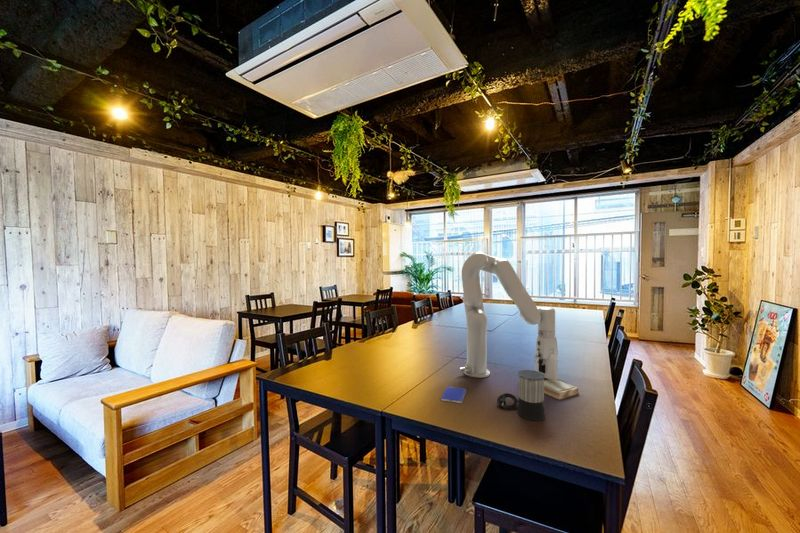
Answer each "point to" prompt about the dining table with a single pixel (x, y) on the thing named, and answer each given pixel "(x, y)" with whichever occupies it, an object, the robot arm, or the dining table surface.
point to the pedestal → (559, 389)
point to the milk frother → (528, 395)
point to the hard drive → (454, 394)
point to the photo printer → (549, 367)
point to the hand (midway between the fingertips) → (546, 371)
